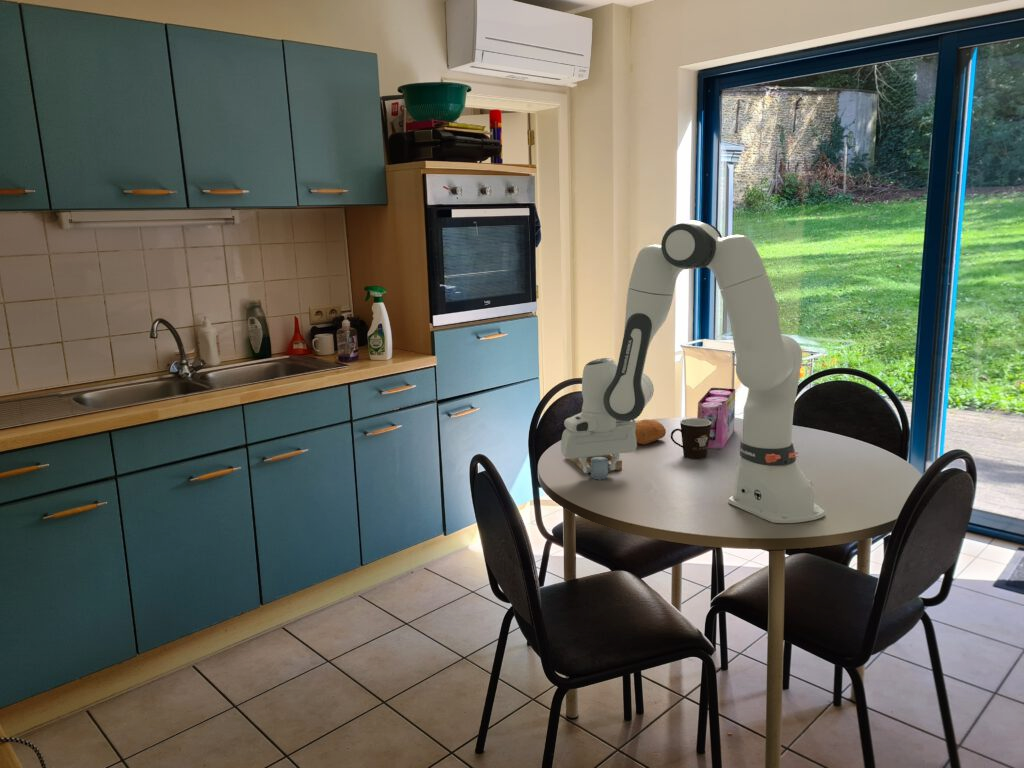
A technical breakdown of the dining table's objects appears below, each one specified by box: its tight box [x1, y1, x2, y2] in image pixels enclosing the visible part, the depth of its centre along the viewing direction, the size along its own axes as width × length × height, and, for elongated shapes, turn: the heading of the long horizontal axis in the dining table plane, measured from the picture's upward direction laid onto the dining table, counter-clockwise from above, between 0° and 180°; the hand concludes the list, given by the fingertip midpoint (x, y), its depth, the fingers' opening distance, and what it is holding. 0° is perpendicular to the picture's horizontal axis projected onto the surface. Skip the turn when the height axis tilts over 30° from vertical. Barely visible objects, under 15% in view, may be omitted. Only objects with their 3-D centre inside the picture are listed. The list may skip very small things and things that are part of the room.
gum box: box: [696, 387, 736, 450], centre depth 235 cm, size 24×8×14 cm, turn 156°
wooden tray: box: [569, 454, 623, 475], centre depth 215 cm, size 16×10×3 cm, turn 15°
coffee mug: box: [670, 417, 712, 460], centre depth 219 cm, size 12×9×10 cm
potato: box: [635, 419, 667, 446], centre depth 234 cm, size 7×13×7 cm, turn 123°
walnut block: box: [588, 455, 610, 463], centre depth 211 cm, size 4×4×5 cm
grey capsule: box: [590, 457, 609, 481], centre depth 203 cm, size 4×4×5 cm
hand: (599, 470), depth 204 cm, fingers open, 5 cm apart
